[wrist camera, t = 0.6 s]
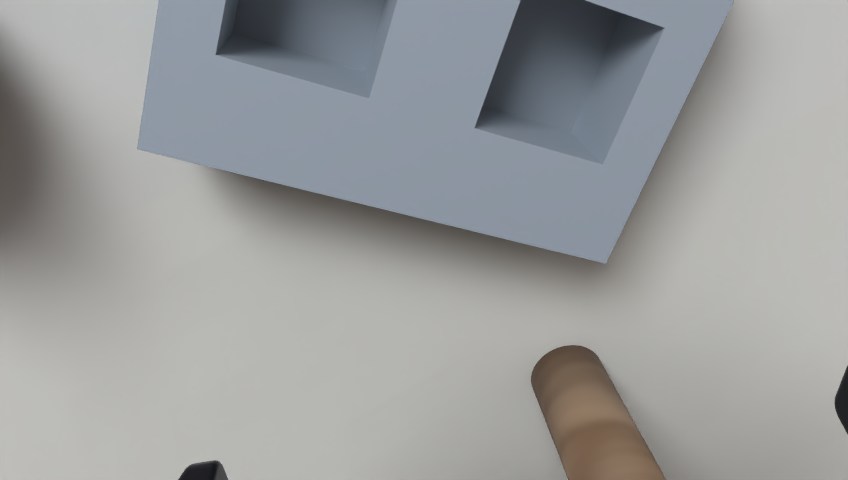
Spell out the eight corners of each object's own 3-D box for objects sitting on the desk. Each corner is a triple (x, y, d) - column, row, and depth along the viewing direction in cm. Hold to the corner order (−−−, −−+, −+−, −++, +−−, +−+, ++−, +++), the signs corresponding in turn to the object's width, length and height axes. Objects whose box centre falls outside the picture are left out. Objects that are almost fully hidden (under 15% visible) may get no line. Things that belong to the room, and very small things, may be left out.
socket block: (567, 210, 25) (605, 263, 21) (170, 106, 21) (137, 149, 18) (695, -79, 21) (769, -72, 17) (230, -262, 17) (202, -300, 14)
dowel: (583, 408, 29) (675, 601, 21) (520, 396, 29) (590, 591, 21) (613, 352, 28) (722, 536, 20) (547, 339, 27) (632, 523, 19)
